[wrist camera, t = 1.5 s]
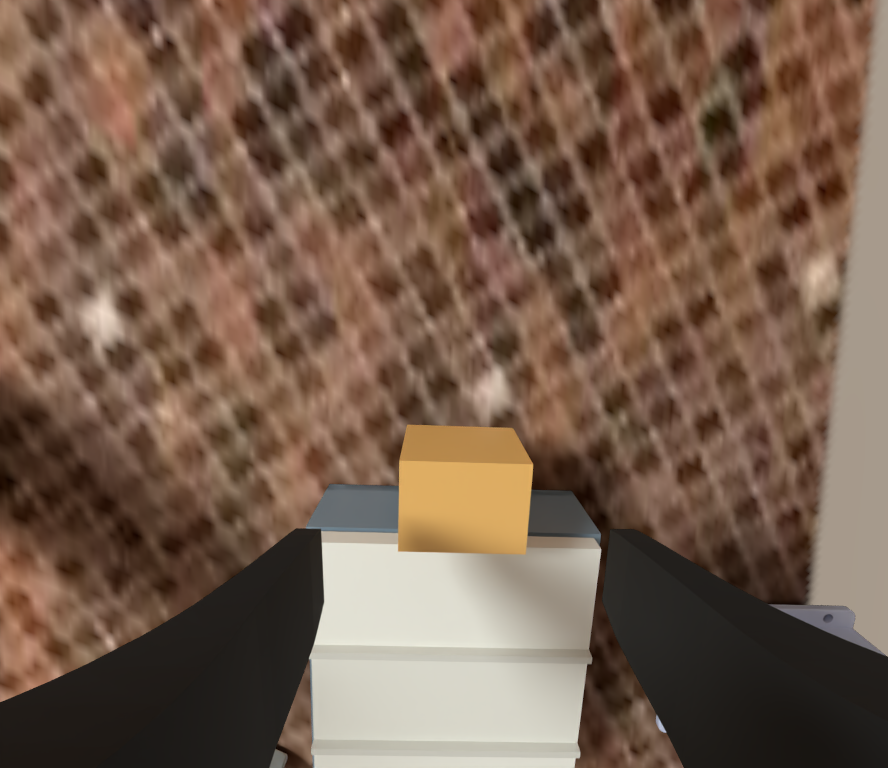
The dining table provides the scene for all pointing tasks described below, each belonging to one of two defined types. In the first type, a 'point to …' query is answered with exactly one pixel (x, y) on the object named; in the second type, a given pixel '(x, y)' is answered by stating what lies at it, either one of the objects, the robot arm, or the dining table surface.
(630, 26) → the dining table surface
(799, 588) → the dining table surface
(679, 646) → the robot arm
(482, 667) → the lid
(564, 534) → the tub
